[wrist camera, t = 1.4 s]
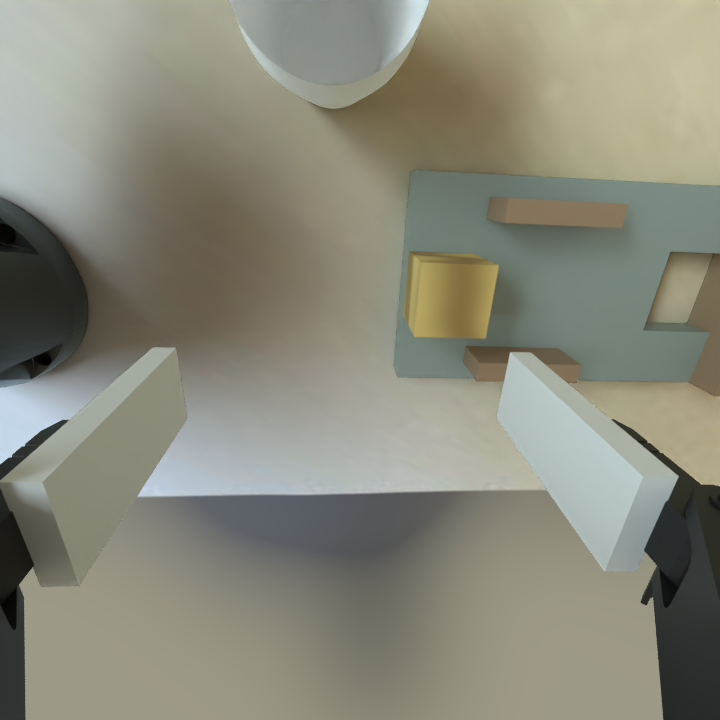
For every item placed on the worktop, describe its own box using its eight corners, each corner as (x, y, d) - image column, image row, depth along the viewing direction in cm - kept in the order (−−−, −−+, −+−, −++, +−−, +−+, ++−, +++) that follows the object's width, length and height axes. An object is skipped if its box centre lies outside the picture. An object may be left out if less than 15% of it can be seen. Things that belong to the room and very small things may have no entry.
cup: (414, 101, 28) (465, 43, 17) (295, 148, 29) (269, 122, 18) (374, -63, 24) (405, -272, 13) (240, -4, 25) (163, -156, 14)
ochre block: (402, 315, 31) (414, 336, 27) (408, 251, 30) (422, 262, 25) (464, 317, 32) (485, 338, 27) (474, 253, 30) (499, 265, 25)
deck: (393, 365, 36) (403, 397, 30) (410, 171, 30) (426, 167, 24) (673, 371, 38) (729, 401, 32) (745, 189, 31) (830, 189, 26)
